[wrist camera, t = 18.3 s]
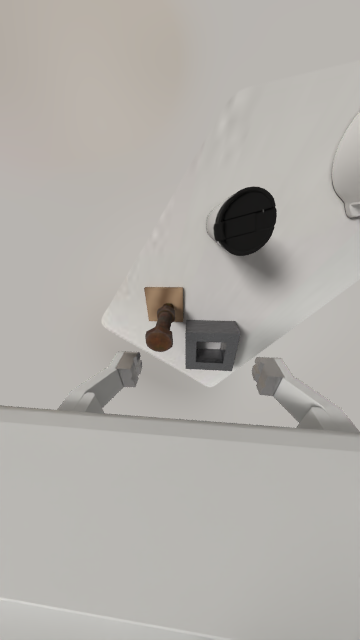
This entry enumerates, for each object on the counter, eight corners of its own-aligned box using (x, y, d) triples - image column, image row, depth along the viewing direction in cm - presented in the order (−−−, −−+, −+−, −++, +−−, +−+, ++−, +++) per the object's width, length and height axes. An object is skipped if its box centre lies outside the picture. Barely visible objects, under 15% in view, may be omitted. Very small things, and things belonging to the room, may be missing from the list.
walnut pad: (182, 287, 41) (182, 288, 40) (183, 319, 46) (183, 321, 45) (145, 287, 42) (144, 288, 41) (149, 319, 47) (149, 320, 46)
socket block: (235, 321, 45) (240, 333, 40) (228, 356, 52) (231, 370, 47) (186, 320, 46) (185, 332, 41) (186, 354, 53) (185, 368, 48)
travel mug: (201, 210, 32) (210, 197, 15) (235, 201, 31) (286, 174, 14) (206, 243, 35) (217, 263, 18) (237, 236, 34) (280, 249, 17)
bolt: (178, 316, 44) (172, 353, 32) (160, 315, 45) (148, 352, 32) (177, 297, 41) (170, 330, 29) (158, 297, 42) (143, 329, 29)
